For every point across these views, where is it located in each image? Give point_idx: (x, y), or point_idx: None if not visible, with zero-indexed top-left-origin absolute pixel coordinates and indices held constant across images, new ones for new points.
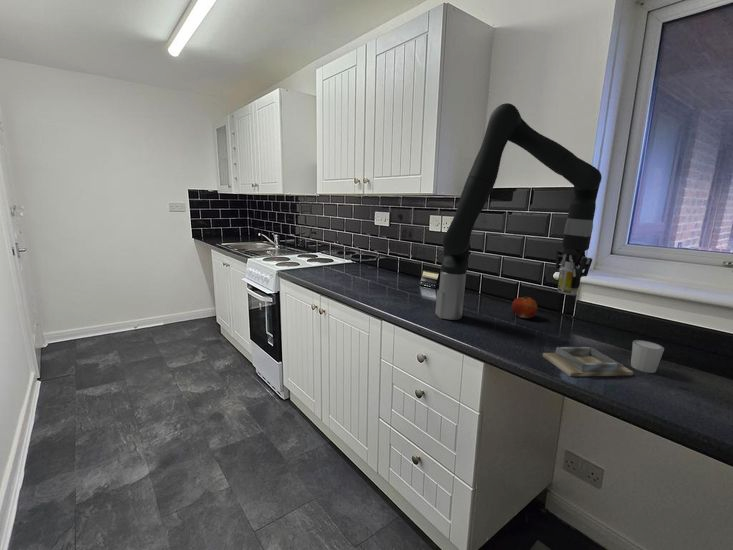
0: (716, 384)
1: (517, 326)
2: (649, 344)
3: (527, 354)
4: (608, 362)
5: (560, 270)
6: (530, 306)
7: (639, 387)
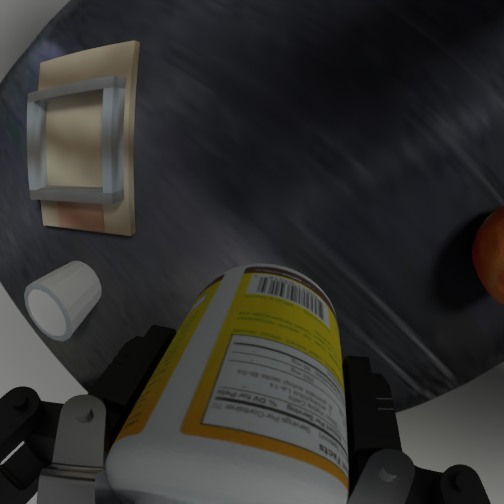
0: (51, 343)
1: (420, 126)
2: (50, 319)
3: (157, 3)
4: (54, 188)
5: (377, 467)
6: (496, 254)
7: (15, 190)
